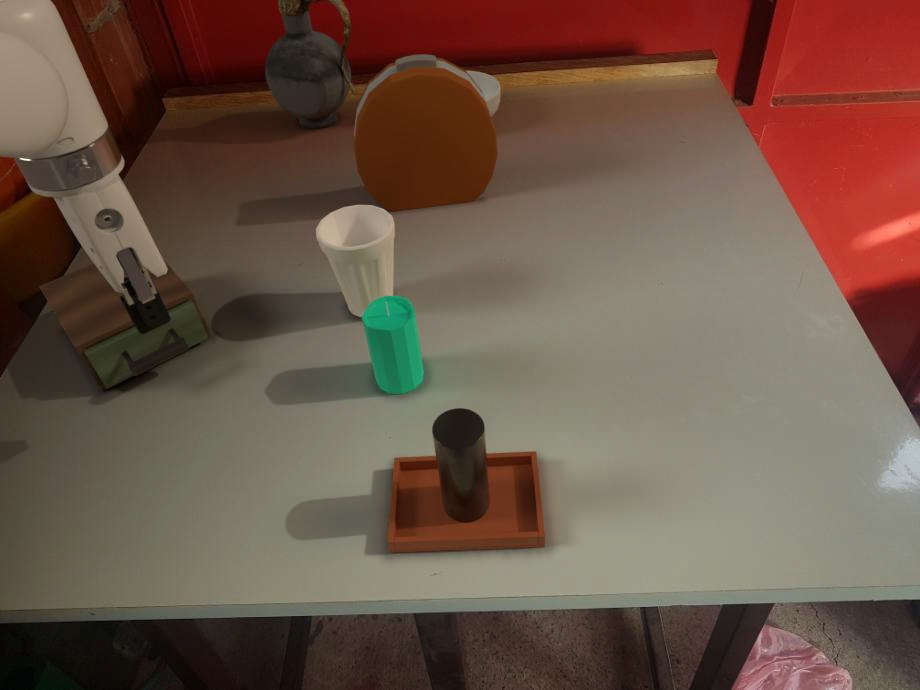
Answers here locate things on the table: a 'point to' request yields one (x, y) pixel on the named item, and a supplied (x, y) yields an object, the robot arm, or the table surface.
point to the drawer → (146, 346)
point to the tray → (503, 525)
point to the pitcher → (309, 66)
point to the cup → (360, 252)
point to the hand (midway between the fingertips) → (153, 323)
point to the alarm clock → (424, 135)
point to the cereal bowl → (488, 89)
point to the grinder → (462, 464)
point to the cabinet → (103, 306)
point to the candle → (394, 344)
